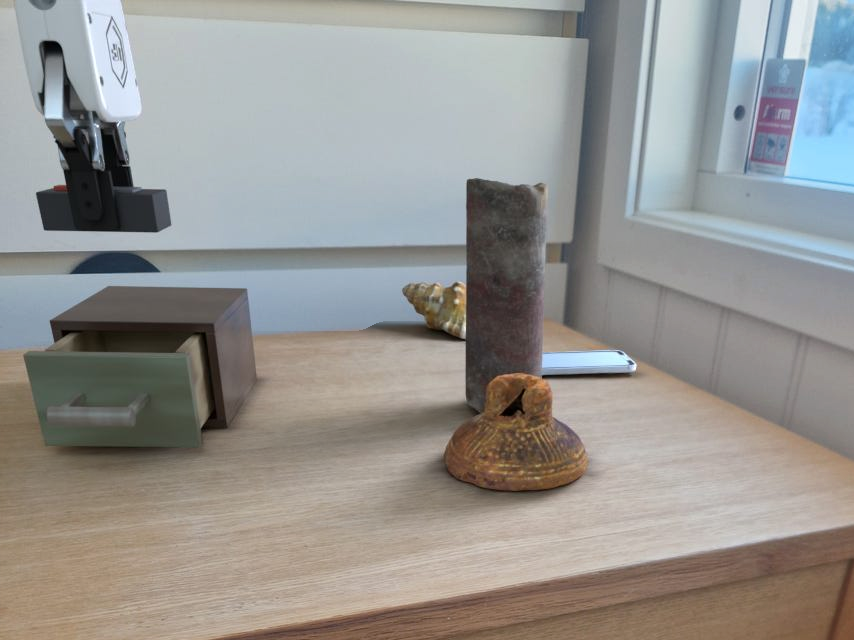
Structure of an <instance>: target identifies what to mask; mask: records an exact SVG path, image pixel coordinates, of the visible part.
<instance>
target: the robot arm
mask: <svg viewBox="0 0 854 640" xmlns="http://www.w3.org/2000/svg"><path fill="white" fill-rule="evenodd" d="M13 4H14V5H13V6H14V11H15V17H16V22H17V30H18V35H19V40H20V46H21V51H22V56H23V61H24V67H25V71H26V76H27V80H28V84H29V88H30V93H31V95H32V99H33V103H34V105H35V108H36V110H37V111H38V112H39V113H40V114H41V115H42V116H43V117H44V122H45V125H46V127H47V128H48V130H49V131H50V133H51V134H52V135H53V139H55V140H54V142H55V144H56V145H57V150H58V159H59V164H60V168H61V170H62V171H63V177H64V181H65V182H64V183H65V185H66V187H67V192H68V197H69V202H70V207H71V212H72V217H73V222H74V226H75V228H76V229H77V230H79V231H78V232H95V231H112V232H111V233H115V232H114V231H117V230H119V228H120V222H119V217H118V211H117V205H116V200H115V194H114V188H113V187H135V186H134V181H133V175H132V174H133V173H132V167H131V165H130V163H131V160H130V158H131V157H130V153H129V148H128V144H127V140H126V138H127V134H126V131H125V127H126V122H130V121H131V122H132V121H136V120H137V119H138V118H139V117H140V116H141V114H142V110H143V109H142V108H143V107H142V101H141V96H140V90H139V84H138V80H137V73H136V69H135V64H134V58H133V54H132V48H131V43H130V38H129V34H128V33H129V32H128V29H127V24H126V19H125V14H124V10H123V4H122V1H121V0H13Z"/></svg>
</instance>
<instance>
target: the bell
mask: <svg viewBox="0 0 854 640" xmlns="http://www.w3.org/2000/svg"><path fill="white" fill-rule="evenodd" d="M553 398H554V394H553V391H552V388H551V385H550V383H549V382H548V381H547V380H545V379H544V378H542V379H541V378H539V377H536V376H533V375H528V374H523V373H516V374H510V375H502V376H497V377H496V378H494V379H493V380H492V381H491V382H490V383H489V384H488V385H487V389H486V405H485V410H484V412H483V413H481V414H480V413H478V414H476V415H474V416H472V417H471V418H469V419H468V420H466V421H464V422H463V423H462V424H461V425H460V426H458V427H457V428H456V429H455V431H453V433H452V435H451V437H450V439H449V441H448V443H447V444H446V447H445V450H444V453H443V460H444V465H445V467H446V469H447V471H448V472H449V473H450V474H452V475H453V476H454V478H456V479H458V480H460V481H462V482H465V483H471V484H474V485H475V486H478V487H481V488H483V489H490V490H499V491H511V492H519V491H539V490H547V489H549V490H550V489H553V488H557V487H559V486H564V485H567V484H570V483H572V482H574V481H576V480H577V479H578V478H580V477H582V475H583V474H584V473H585V471H586V469H587V467H588V461H589V460H588V453H587V451H586V447H585V445H584V443H583V442H582V440H581V438H580V436H579V434H577V433H576V432H575V431H574V429H572V428H570V427H569V425H567V424H566V423H564V422H562V421H560V420H559V419H557V418H556V417H554V416H553V403H554V401H553V400H554V399H553ZM515 410H516V411H515Z"/></svg>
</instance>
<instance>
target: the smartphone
mask: <svg viewBox="0 0 854 640" xmlns="http://www.w3.org/2000/svg"><path fill="white" fill-rule="evenodd" d="M636 370H637V363H636V362H635V361H634V360H633V359H632V358H631V357H630V356H628V355H627V354H626V353H625V352H624V351H622V350H617V349H607V350H606V349H605V350H579V351H578V350H575V351H574V350H573V351H572V350H571V351H546V352H545V351H542V376H553V375H554V376H555V375H580V374H582V375H585V374H606V375H612V374H617V373H618V374H629V373H632V372H636Z"/></svg>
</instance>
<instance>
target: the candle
mask: <svg viewBox="0 0 854 640" xmlns="http://www.w3.org/2000/svg"><path fill="white" fill-rule="evenodd" d="M465 185H466V187H465V188H466V190H465V191H466V193H465V195H466V196H465V199H466V200H465V201H466V202H465V212H466V213H465V214H466V216H465V217H466V220H465V221H466V226H465V227H466V228H465V230H466V231H465V232H466V233H465V234H466V235H465V236H466V238H465V245H466V246H465V247H466V256H465V257H466V259H465V260H466V261H465V262H466V271H465V278H466V280H465V286H466V339H465V371H464V373H465V374H464V375H465V379H464V380H465V399H466V403H467V405H468V406H471V408H473V409H474V410H476V411H477V412H478V413H479V414H481V413H483V412H484V410H485V405H486V389H487V385H488V384H489V383H490V382H491V381H492V380H493V379H494V378H496V377H497V376H502V375H510V374H516V373H523V374H528V375H533V376H536V377H539V378H541V379H543V377H542V376H543V375H542V352H543V342H544V337H543V335H544V310H545V282H546V261H547V259H546V257H547V256H546V253H547V252H546V250H547V249H546V247H547V235H548V198H549V187H548V184H547V183H545V182H544V183H543V182H538V183H537V184H535V185H530V184H529V183H528V184H523V183H520V184H515V185H514V184H509V183H507V182H501V181H498V180H489V179H483V178H479V177H475V178H468V179H466V183H465ZM515 411H516V410H515Z"/></svg>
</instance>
